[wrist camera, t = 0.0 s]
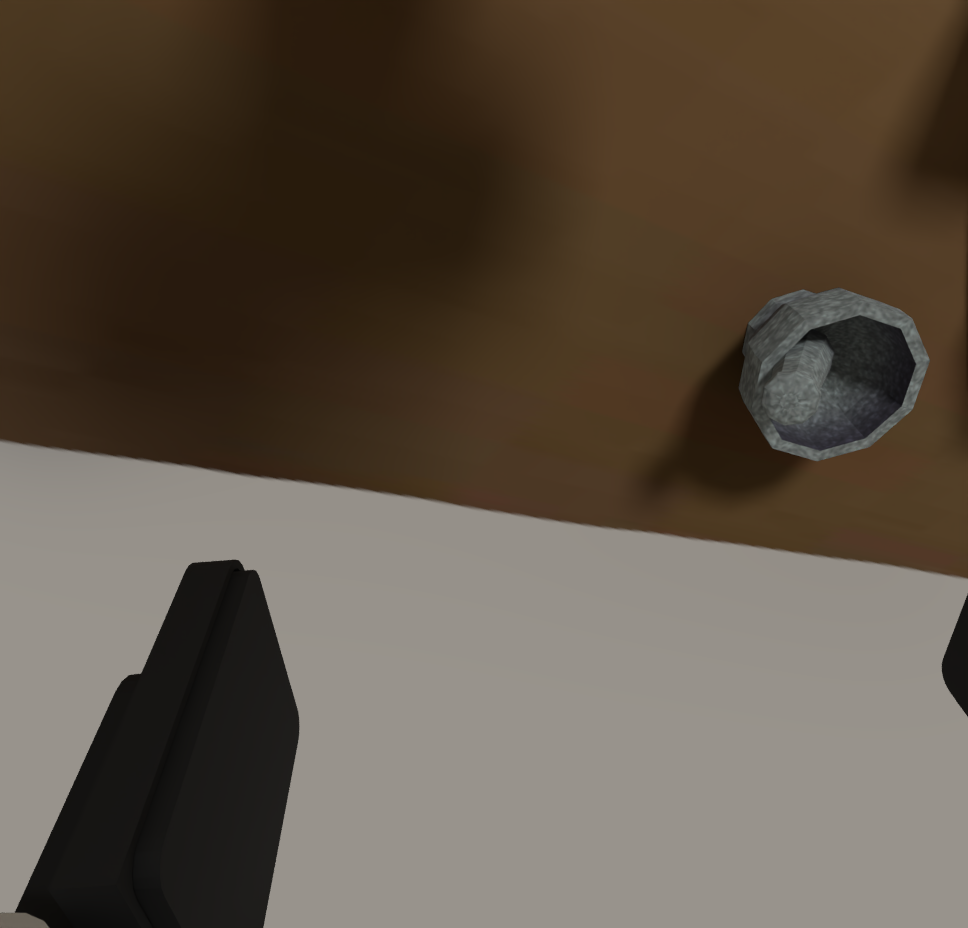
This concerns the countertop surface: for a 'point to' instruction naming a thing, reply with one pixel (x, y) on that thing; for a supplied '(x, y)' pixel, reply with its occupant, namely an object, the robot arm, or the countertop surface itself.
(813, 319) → the mortar and pestle
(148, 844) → the robot arm
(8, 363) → the countertop surface
